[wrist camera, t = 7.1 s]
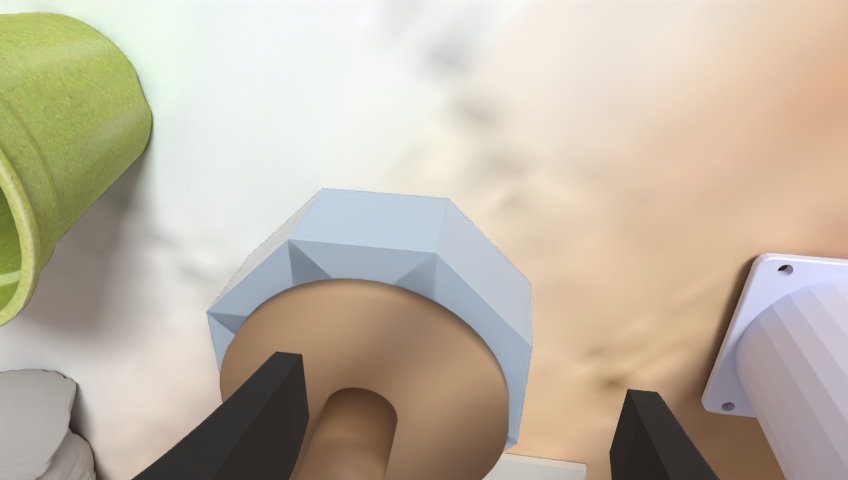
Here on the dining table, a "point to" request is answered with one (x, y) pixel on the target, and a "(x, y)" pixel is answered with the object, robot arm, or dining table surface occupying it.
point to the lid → (380, 382)
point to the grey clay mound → (40, 429)
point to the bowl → (392, 271)
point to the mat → (535, 469)
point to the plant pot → (58, 137)
